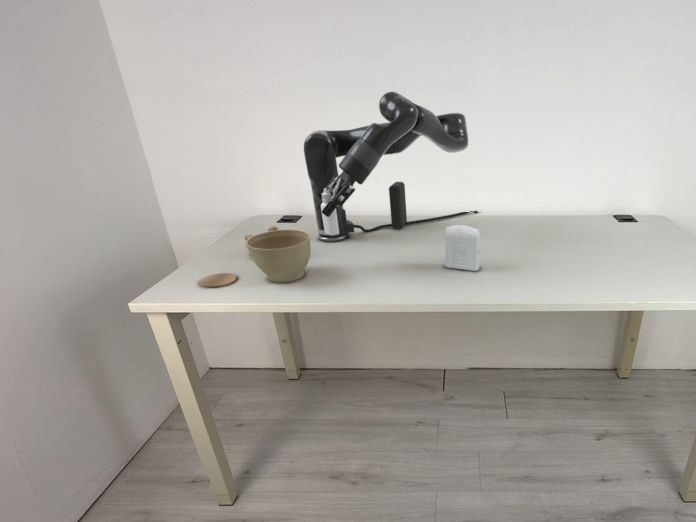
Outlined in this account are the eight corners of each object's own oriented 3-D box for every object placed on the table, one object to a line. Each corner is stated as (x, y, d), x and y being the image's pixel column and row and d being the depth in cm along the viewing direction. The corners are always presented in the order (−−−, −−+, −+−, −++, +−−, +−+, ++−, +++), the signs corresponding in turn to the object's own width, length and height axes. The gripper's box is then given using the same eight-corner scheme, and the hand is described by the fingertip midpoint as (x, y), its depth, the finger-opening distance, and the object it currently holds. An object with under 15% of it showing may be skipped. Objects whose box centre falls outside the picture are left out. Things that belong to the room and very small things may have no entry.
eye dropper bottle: (341, 229, 133) (335, 185, 127) (338, 235, 128) (332, 190, 122) (325, 230, 132) (318, 186, 126) (322, 236, 128) (315, 190, 121)
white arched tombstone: (481, 267, 138) (482, 225, 131) (477, 272, 134) (477, 229, 128) (448, 263, 140) (447, 222, 134) (443, 268, 137) (442, 226, 130)
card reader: (397, 222, 177) (394, 181, 169) (407, 222, 177) (405, 181, 169) (390, 229, 169) (387, 186, 162) (401, 230, 169) (398, 186, 161)
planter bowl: (254, 270, 135) (245, 233, 129) (312, 263, 140) (305, 227, 135) (256, 292, 122) (246, 251, 116) (320, 282, 127) (313, 243, 122)
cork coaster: (235, 272, 133) (234, 271, 133) (237, 283, 127) (237, 282, 126) (200, 278, 130) (199, 276, 130) (200, 289, 123) (200, 288, 123)
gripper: (379, 176, 122) (339, 227, 123) (363, 166, 133) (327, 214, 134) (356, 155, 117) (315, 209, 119) (342, 147, 128) (305, 197, 130)
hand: (322, 211), depth 126 cm, fingers closed on eye dropper bottle, 5 cm apart
